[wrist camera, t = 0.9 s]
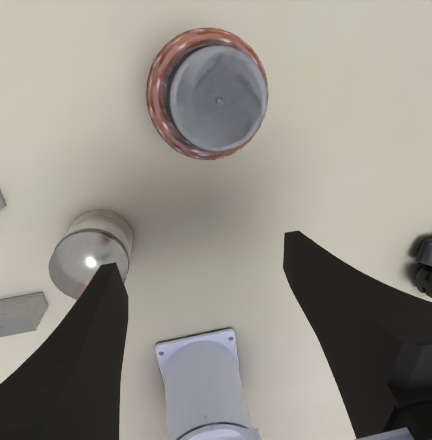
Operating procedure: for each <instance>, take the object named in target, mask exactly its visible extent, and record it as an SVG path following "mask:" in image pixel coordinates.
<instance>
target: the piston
mask: <svg viewBox="0 0 432 440" xmlns="http://www.w3.org/2000/svg"><path fill="white" fill-rule="evenodd" d="M132 243H133V235H132V231H131V228H130V226H129V225H128V223H127V222H126V221H125V220H124V219H123V218H122V217H120V216H119V215H117V214H115V213H113V212H110V211H106V210H92V211H88V212H86V213H84V214H82V215H80V216H79V217H78V218H77V219H75V221H74V222H73V223H72V225H71V226H70V228H69V230H68V231H67V233H66V234H65V236H64V237H63V239H62V240H61V241H60V242H59V244H58V245H57V247H56V248H55V250H54V253H53V254H52V256H51V259H50V262H49V274H50V277H51V279H52V281H53V283H54V284H55V286H56V287H57V288H58V289H59V290H60V291H62V292H63V293H64V294H66V295H68V296H70V297H72V298H75V299H79V297H80V296H81V294H82V293H83V291H84V290H85V288H86V287H87V285H88V284H89V282H90V281H91V279H92V278H93V276H94V274H95V273H96V271H97V270H98V268H99V267H100V266H101V265H103V264H109V263H115V262H116V264H117V266H118V269H119V272H120V275H121V278H122V281H123V283H124V282H125V280H126V276H127V273H128V269H129V262H130V261H129V260H130V254H131V249H132Z"/></svg>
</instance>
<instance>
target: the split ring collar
mask: <svg viewBox="0 0 432 440" xmlns="http://www.w3.org/2000/svg"><path fill="white" fill-rule="evenodd" d="M5 206H6V204H5V202H4V199H3V197H2V195H1V192H0V210H1V209H2V208H3V207H5ZM47 307H48V304H47V302H46V299H45V297H44V295H43V292H40V293H34V294H29V295H23V296H18V297H13V298H7V299H2V300H0V337H4V336H9V335H14V334H19V333H24V332H30V331H35V330H36V329H37V327H38V325H39V323H40V321H41V319H42V317H43V315H44V313H45V311H46V309H47Z"/></svg>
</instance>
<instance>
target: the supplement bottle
mask: <svg viewBox="0 0 432 440" xmlns="http://www.w3.org/2000/svg"><path fill="white" fill-rule="evenodd" d="M146 97H147V106H148V111H149V115H150V117H151V120H152V122H153V124H154V126H155V128H156V130H157V131H158V133H159V134H160V135H161V137H162V138H163V139H164V140H165V141H166V142H167V143H168V144H169V145H170V146H171V147H172V148H174V149H175V150H176V151H177V152H180V153H182V154H184V155H186V156H189V157H192V158H196V159H203V160H215V159H219V158H223V157H225V156H229V155H231V154H233V153H235V152H237V151H238V150H240V149H241V148H243V147H244V146H245V145H246V144H247V143H248V142H249V141H250V140H251V139H252V138H253V137H254V135H255V134H256V133H257V131H258V129H259V128H260V126H261V123H262V121H263V119H264V117H265V113H266V110H267V103H268V83H267V78H266V74H265V71H264V68H263V66H262V64H261V62H260V60H259V58H258V56H257V55H256V54H255V52H254V51H253V49H252V48H251V47H250V46H249V45H248V44H247V43H245V42H244V41H243V40H242V39H240V38H239V37H237V36H236V35H234V34H232V33H230V32H227V31H224V30H221V29H215V28H200V29H194V30H190V31H187V32H184V33H182V34H180V35H178V36H176V37H175V38H174V39H172V40H171V41H170V42H168V43H167V44H166V45H165V46H164V47H163V49H162V50H161V51H160V52H159V54H158V55H157V57H156V58H155V60H154V62H153V64H152V66H151V69H150V72H149V76H148V81H147V91H146Z"/></svg>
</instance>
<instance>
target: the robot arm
mask: <svg viewBox="0 0 432 440" xmlns="http://www.w3.org/2000/svg"><path fill="white" fill-rule="evenodd" d="M283 269H284V272H285V275H286V277H287V280H288V282H289V285H290V287H291V289H292V291H293V293H294V295H295V297H296V299H297V301H298V303H299V304H300V306H301V308H302V310H303V312H304V313H305V315H306V317H307V319H308V321H309V323H310V324H311V326H312V328H313V330H314V332H315V334H316V336H317V338H318V340H319V342H320V344H321V347H322V349H323V351H324V354H325V356H326V358H327V361H328V363H329V366H330V368H331V371H332V373H333V376H334V378H335V381H336V383H337V386H338V389H339V391H340V394H341V397H342V399H343V402H344V405H345V407H346V410H347V413H348V416H349V418H350V421H351V424H352V427H353V430H354V433H355V436H356V438H357V439H355V440H432V302H429V301H426V300H423V299H421V298H418V297H415V296H412V295H410V294H407V293H405V292H402V291H400V290H398V289H395V288H393V287H390V286H388V285H386V284H384V283H382V282H380V281H378V280H376V279H374V278H372V277H370V276H368V275H366V274H364V273H362V272H360V271H358V270H357V269H355V268H353V267H352V266H350V265H348V264H346V263H345V262H343V261H342V260H340V259H338V258H337V257H335V256H334V255H332V254H331V253H329V252H328V251H326V250H325V249H324V248H322V247H321V246H319V245H318V244H316V243H315V242H314V241H312V240H311V239H309V238H308V237H307V236H305V235H304V234H303V233H301V232H300V231H293V232H287V233H285V238H284V261H283ZM127 325H128V295H127V292H126V289H125V286H124V283H123V281H122V278H121V275H120V272H119V269H118V266H117V264H116V262H115V263H109V264H103V265H101V266H100V267H99V268H98V270H97V271H96V273H95V274H94V276H93V278H92V279H91V281H90V282H89V284H88V285H87V287H86V288H85V290H84V291H83V293H82V294H81V296H80V297H79V299H78V300H77V301H76V303H75V304H74V306H73V307H72V309H71V310H70V311H69V312H68V314H67V315H66V316H65V318H64V319H63V320H62V322H61V323H60V324H59V325H58V327H57V328H56V329H55V330H54V331H53V333H52V334H51V335H50V336H49V337H48V338H47V339H46V341H45V342H44V343H43V344H42V345H41V346H40V347H39V348H38V349H37V350H36V351H35V352H34V353H33V354H32V355H31V356H30V357H29V358H28V359H27V360H26V361H25V362H24V363H23V364H22V365H21V366H20V367H19V368H18V369H17V370H16V371H15V372H13V373H12V374H11V375H10V376H9V377H8V378H7V379H6V380H5V381H3V382H2V383H1V384H0V440H119V409H120V380H121V370H122V362H123V355H124V348H125V340H126V333H127ZM229 337H231V338H229ZM161 351H162V352H161ZM155 352H156V356H157V359H158V363H159V367H160V371H161V375H162V378H163V382H164V386H165V396H166V440H261V437H260V434H259V430H258V429H257V428H256V429H253V427H252V424H251V420H250V416H249V412H248V409H247V405H246V401H245V397H244V394H243V390H242V386H241V380H240V372H239V363H238V354H237V346H236V337H235V332H234V330H233V329H225V330H221V331H216V332H211V333H206V334H201V335H197V336H192V337H187V338H182V339H177V340H173V341H168V342H163V343H159V344H157V345H156V346H155Z"/></svg>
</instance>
